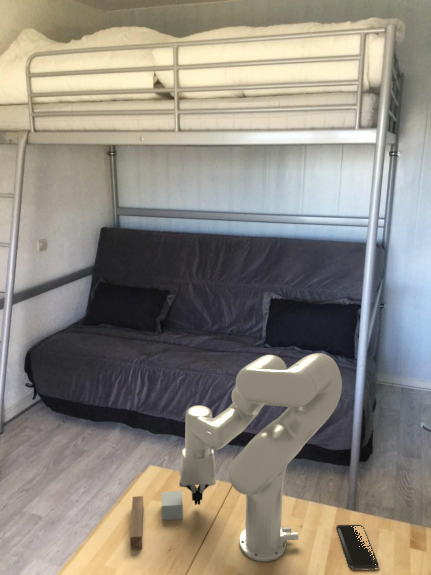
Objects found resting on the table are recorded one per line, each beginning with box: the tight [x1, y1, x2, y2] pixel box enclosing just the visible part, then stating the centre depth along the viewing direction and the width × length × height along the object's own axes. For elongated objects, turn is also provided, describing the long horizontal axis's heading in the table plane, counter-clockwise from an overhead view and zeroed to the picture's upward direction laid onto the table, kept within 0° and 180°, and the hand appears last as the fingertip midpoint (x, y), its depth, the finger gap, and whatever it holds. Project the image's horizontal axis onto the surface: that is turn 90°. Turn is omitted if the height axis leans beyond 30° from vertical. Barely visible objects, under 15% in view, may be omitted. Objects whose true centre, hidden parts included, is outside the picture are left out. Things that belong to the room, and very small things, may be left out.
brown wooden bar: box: [129, 495, 144, 550], centre depth 140 cm, size 3×16×4 cm, turn 7°
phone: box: [335, 524, 379, 571], centre depth 134 cm, size 8×1×15 cm
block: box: [161, 490, 184, 521], centre depth 146 cm, size 6×6×5 cm
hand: (197, 501), depth 147 cm, fingers closed
